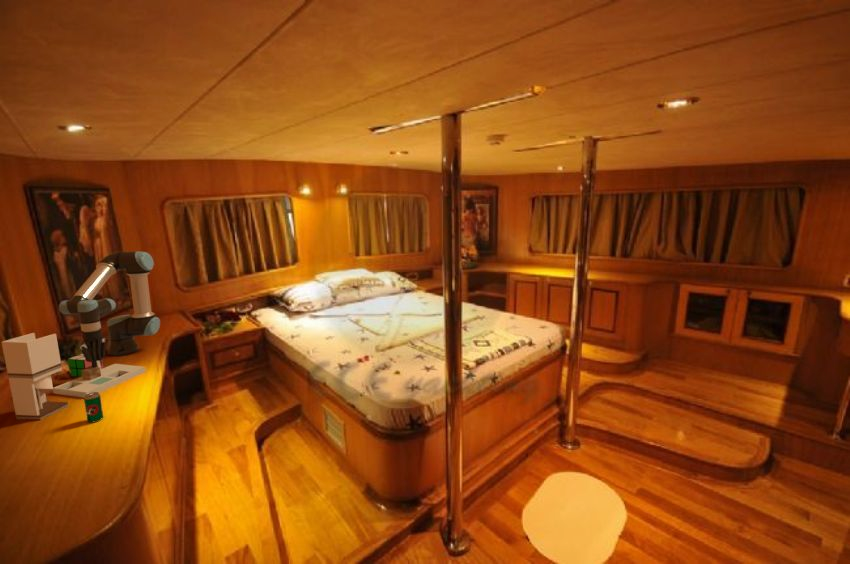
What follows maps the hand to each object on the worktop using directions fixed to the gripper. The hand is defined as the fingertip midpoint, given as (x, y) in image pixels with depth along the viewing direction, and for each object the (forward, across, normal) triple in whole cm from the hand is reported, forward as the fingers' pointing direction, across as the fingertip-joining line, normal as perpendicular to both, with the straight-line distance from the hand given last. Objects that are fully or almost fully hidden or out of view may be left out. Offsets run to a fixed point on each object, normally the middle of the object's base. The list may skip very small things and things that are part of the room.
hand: (98, 372), depth 186 cm
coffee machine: (+5, +30, +9) cm, 32 cm away
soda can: (+5, +30, +37) cm, 48 cm away
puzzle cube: (+5, -6, -15) cm, 17 cm away
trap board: (+5, +1, +4) cm, 6 cm away
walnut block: (+2, +3, 0) cm, 3 cm away
